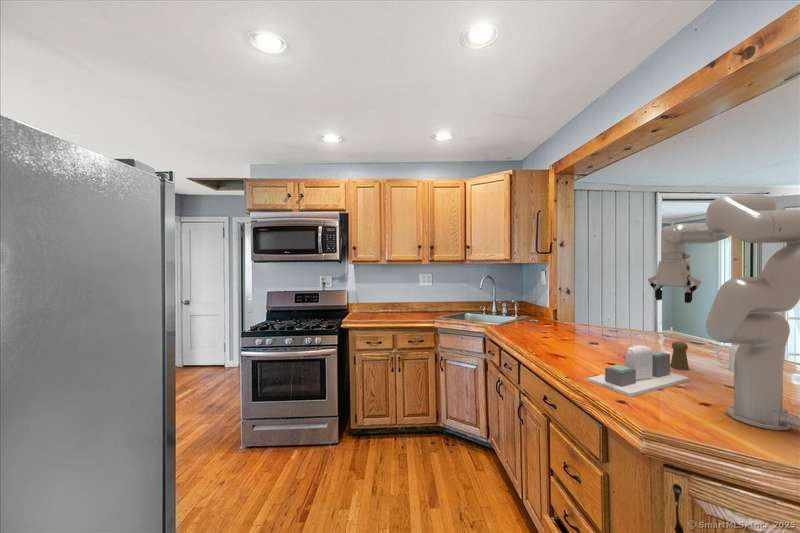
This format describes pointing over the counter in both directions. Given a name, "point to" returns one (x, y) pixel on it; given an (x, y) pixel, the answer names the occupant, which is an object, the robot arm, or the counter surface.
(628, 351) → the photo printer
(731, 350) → the cup
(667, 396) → the counter surface
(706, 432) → the counter surface
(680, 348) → the olive green bristly cone
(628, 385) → the mounting board
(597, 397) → the counter surface
